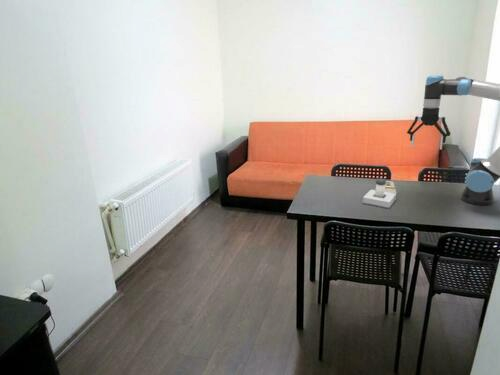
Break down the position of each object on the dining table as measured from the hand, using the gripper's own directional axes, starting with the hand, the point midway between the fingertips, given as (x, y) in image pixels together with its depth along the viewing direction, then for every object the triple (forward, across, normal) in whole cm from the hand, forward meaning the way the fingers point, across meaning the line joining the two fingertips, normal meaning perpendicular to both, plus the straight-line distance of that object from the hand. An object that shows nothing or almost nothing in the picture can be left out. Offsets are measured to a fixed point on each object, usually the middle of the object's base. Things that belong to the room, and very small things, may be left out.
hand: (426, 147), depth 185 cm
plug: (+28, +19, +15) cm, 37 cm away
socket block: (+29, +19, +15) cm, 37 cm away
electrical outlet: (+29, +18, -3) cm, 35 cm away
